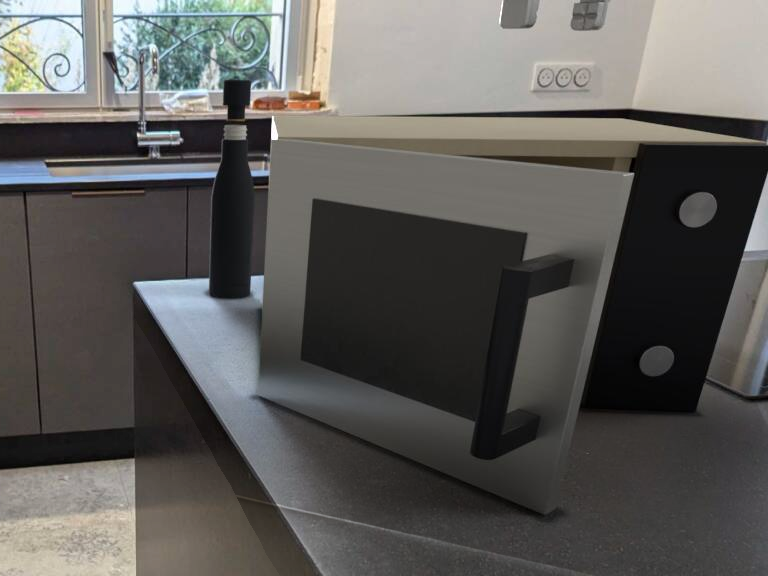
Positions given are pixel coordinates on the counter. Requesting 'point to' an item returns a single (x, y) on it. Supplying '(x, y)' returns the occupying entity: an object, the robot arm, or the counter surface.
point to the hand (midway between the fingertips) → (552, 29)
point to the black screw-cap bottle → (232, 202)
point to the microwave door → (438, 304)
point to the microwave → (637, 237)
